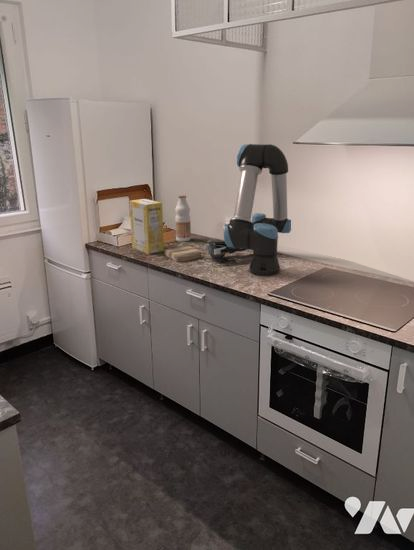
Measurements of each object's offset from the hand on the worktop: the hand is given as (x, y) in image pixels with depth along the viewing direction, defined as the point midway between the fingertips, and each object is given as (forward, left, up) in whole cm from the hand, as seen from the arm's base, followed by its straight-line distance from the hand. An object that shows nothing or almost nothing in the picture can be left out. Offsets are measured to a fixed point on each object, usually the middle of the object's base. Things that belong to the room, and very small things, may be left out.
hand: (209, 249), depth 242 cm
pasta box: (+41, +18, -7) cm, 45 cm away
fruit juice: (+49, -10, -7) cm, 51 cm away
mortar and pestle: (0, -4, -7) cm, 8 cm away
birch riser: (+16, +8, -6) cm, 19 cm away
